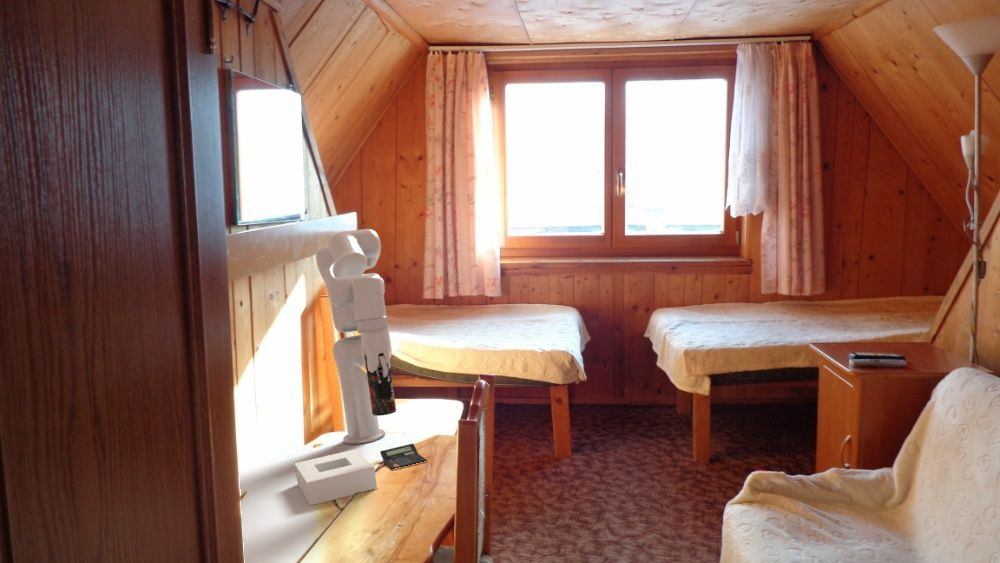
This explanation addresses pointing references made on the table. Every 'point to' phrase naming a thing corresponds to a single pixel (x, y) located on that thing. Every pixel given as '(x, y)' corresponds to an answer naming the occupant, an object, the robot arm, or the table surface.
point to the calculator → (401, 456)
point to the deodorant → (377, 404)
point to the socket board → (335, 476)
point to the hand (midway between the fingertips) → (382, 395)
